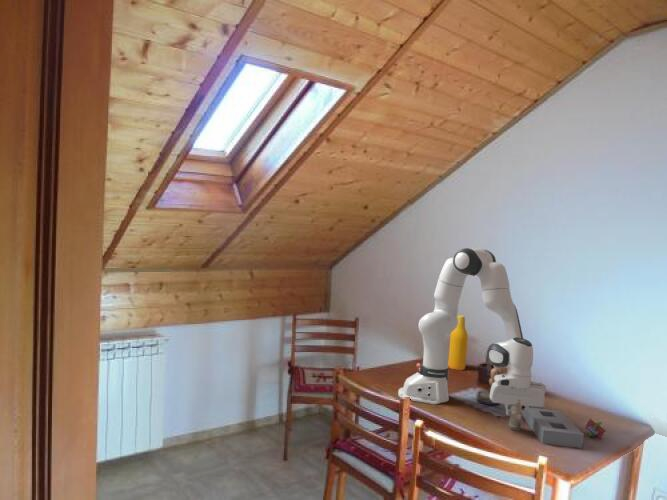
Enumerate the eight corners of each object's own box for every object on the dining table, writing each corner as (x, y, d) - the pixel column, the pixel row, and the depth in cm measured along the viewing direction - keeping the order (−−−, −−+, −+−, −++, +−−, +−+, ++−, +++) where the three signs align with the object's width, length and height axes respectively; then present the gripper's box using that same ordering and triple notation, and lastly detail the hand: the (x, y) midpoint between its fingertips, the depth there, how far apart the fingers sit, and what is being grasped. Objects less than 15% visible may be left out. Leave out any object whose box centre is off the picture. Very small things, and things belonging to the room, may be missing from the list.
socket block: (542, 443, 184) (543, 430, 184) (524, 418, 208) (525, 406, 208) (582, 447, 183) (583, 434, 182) (559, 422, 206) (560, 410, 206)
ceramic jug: (505, 383, 256) (507, 355, 256) (528, 392, 243) (530, 363, 243) (478, 387, 248) (480, 358, 247) (501, 396, 235) (503, 366, 234)
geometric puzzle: (613, 435, 191) (602, 414, 195) (603, 438, 187) (592, 417, 191) (597, 440, 196) (587, 420, 200) (587, 443, 192) (577, 422, 196)
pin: (510, 429, 195) (513, 399, 194) (507, 425, 199) (510, 395, 198) (520, 431, 194) (523, 400, 194) (518, 427, 198) (520, 397, 198)
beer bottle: (446, 364, 284) (451, 313, 283) (463, 366, 283) (468, 315, 282) (448, 369, 275) (453, 316, 274) (466, 371, 274) (470, 318, 273)
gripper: (543, 380, 198) (540, 415, 198) (490, 375, 200) (487, 409, 200) (549, 385, 191) (545, 421, 192) (493, 380, 194) (490, 415, 194)
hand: (515, 415), depth 196 cm, fingers closed on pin, 4 cm apart
